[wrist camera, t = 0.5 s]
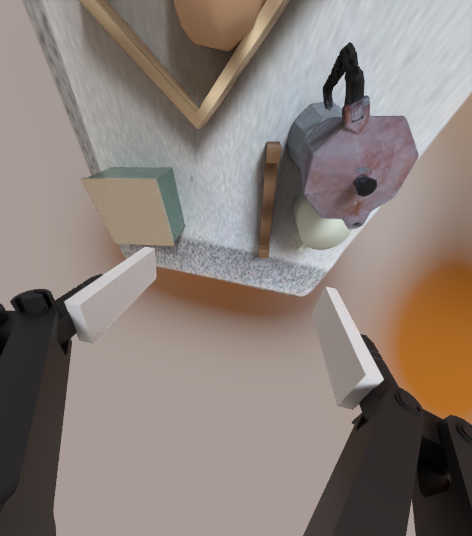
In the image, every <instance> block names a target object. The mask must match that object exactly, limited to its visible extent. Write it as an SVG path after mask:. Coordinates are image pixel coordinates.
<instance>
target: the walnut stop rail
mask: <svg viewBox="0 0 472 536" xmlns="http://www.w3.org/2000/svg"><path fill="white" fill-rule="evenodd" d="M281 150H282V146H281V144H280V142H267V145H266V158H265V171H264V184H263V197H262V210H261V223H260V236H259V258H268V256H269V241H270V232H271V224H272V215H273V207H274V199H275V190H276V182H277V174H278V165H279V163H280V158H281Z"/></svg>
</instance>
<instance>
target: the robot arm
mask: <svg viewBox="0 0 472 536" xmlns="http://www.w3.org/2000/svg"><path fill="white" fill-rule="evenodd" d="M156 278H157V277H156V260H155V249H154V248H150V247H144V248H142V249H141V250H139V251H138V252H137V253H135V254H134V255H132V256H131V257H129V258H128V259H126V260H125V261H123V262H122V263H120V264H119V265H117V266H116V267H114V268H113V269H111V270H110V271H108V272H107V273H106V274H104V275H102V274H99V275H97V276H94V277H91V278H89V279H88V280H86V281H85V282H83V284H80V285H79V286H77V288H74V289H72V290H71V291H69V292H68V293H66V294H65V295H63V296H62V297H60V298H58V299H57V300H56V301H55V300H54V298H53V296H52V293H51V292H50V291H49V290H46V289H34V290H30V291H26V292H23V293H21V294H19V295H17V296H15V297H14V298H13V299H12V300H11V301H10V302H11V304H12V305H13V307H14V309H15V311H6V310H5V308H4V307H3V305H2V304H0V536H56V526H55V520H54V515H53V507H54V496H55V487H56V479H57V470H58V461H59V452H60V444H61V435H62V426H63V416H64V409H65V400H66V391H67V382H68V373H69V364H70V356H71V347H72V341H71V337H72V336H73V335H75V334H76V333H77V335H78V338H79V340H80V341H84V342H88V343H92V344H93V343H94V342H95V341H96V340H97V339H98V338H99V337H100V335H102V334H103V333H104V331H106V329H107V328H108V327H109V326H110V325H111V324H112V323H113V322H114V321H115V320H116V319H117V318H118V317H119V316H120V315H121V314H122V313H123V312H124V311H125V310H126V309H127V308H128V307H129V306H130V305H131V304H132V303H133V302H134V301H135V300H136V299H137V298H138V297H139V296H140V295H141V294H142V293H143V292H144V291H145V290H146V288H147V287H148V286H149V285H150V284H151V283H152V282H153V281H154V280H155V279H156ZM312 317H313V320H314V324H315V327H316V331H317V334H318V338H319V341H320V345H321V348H322V352H323V356H324V359H325V363H326V366H327V369H328V373H329V377H330V380H331V384H332V387H333V391H334V394H335V398H336V401H337V405H338V406H341V407H344V408H348V409H352V410H353V409H354V408H355V407H356V406H357V405H358V404H359V405H360V407H361V410H362V413H361V414H360V415H359V416H358V417H357V418H356V419H354V420H353V422H352V423H353V424H355V425H354V427H353V430H352V432H351V434H350V436H349V438H348V440H347V442H346V445H345V447H344V449H343V451H342V453H341V455H340V457H339V460H338V462H337V464H336V466H335V468H334V470H333V472H332V475H331V477H330V479H329V481H328V483H327V485H326V488H325V490H324V492H323V494H322V496H321V498H320V500H319V503H318V505H317V507H316V509H315V511H314V513H313V516H312V518H311V520H310V522H309V524H308V526H307V529H306V531H305V533H304V535H303V536H406V531H407V524H408V518H409V512H410V506H411V500H412V503H413V513H414V523H415V532H416V536H472V425H471V424H469V423H468V422H467V421H465V420H464V419H462V418H459V417H457V416H453V415H450V416H448V417H446V418H445V419H441V418H439V417H437V416H435V415H433V414H432V413H430V412H428V411H426V410H424V409H422V407H421V405H420V404H419V403H418V401H417V400H416V399H415V398H414V397H413V396H412V395H411V394H409V393H408V392H407V391H405V390H403V389H402V388H399V386H398V385H397V383H396V381H395V379H394V378H393V376H392V374H391V373H390V371H389V369H388V367H387V366H386V364H385V362H384V361H383V360H382V357H381V355H380V354H379V353H378V350H377V348H376V347H375V345H374V343H373V342H372V341H371V340H370V339H369V338H368V337H367V336H366V335H362V334H360V333H359V332H358V330H357V328H356V326H355V324H354V322H353V320H352V318H351V316H350V314H349V313H348V311H347V309H346V307H345V305H344V303H343V301H342V300H341V297H340V296H339V294H338V292H337V290H336V289H334V288H329V287H325V289H324V291H323V293H322V295H321V297H320V299H319V301H318V303H317V304H316V306H315V308H314V311H313V313H312Z"/></svg>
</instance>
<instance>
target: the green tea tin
mask: <svg viewBox="0 0 472 536" xmlns="http://www.w3.org/2000/svg"><path fill="white" fill-rule="evenodd" d="M81 180H82V182H83V184H84V186H85V188H86V190H87V191H88V193H89V195H90V197H91V199H92V201H93V203H94V205H95V207H96V208H97V210H98V212H99V214H100V216H101V218H102V220H103V222H104V224H105V225H106V227H107V229H108V231H109V233H110V235H111V237H112V239H113V240H114V242H115V243H116V244H136V245H160V246H174V245H175V241H176V239H177V238H178V236H179V235H180V233H181V231H182V230H183V228H184V227H185V224H184V220H183V215H182V211H181V206H180V202H179V197H178V193H177V188H176V183H175V179H174V174H173V170H172V168H124V167H111V168H109V169H107V170H104V171H102V172H100V173H97V174H95V175H93V176H90V177H88V178H82V179H81Z"/></svg>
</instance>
